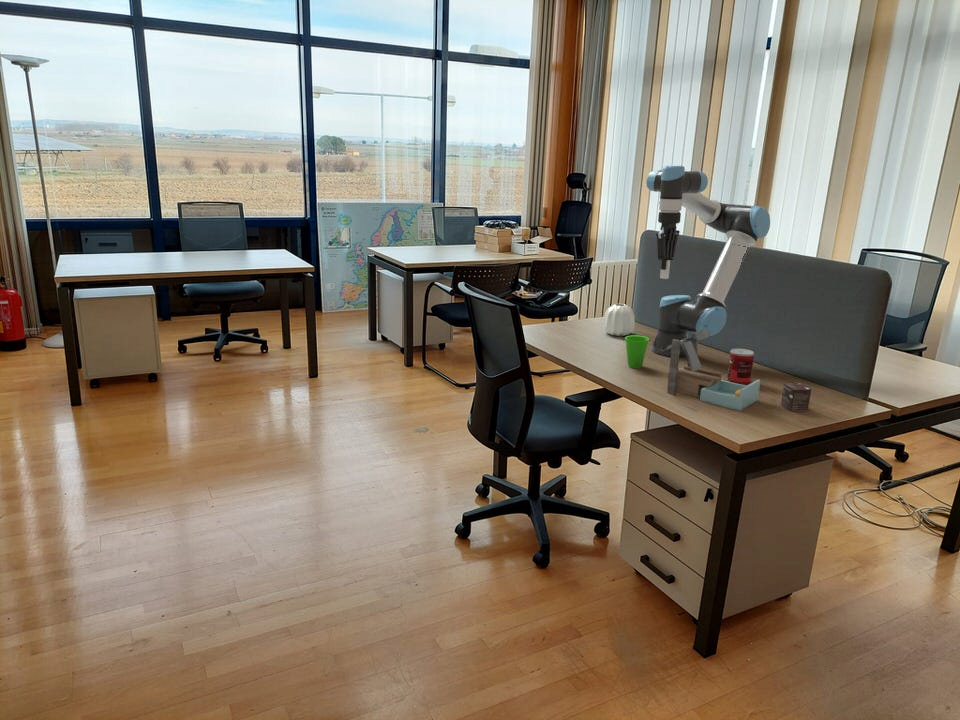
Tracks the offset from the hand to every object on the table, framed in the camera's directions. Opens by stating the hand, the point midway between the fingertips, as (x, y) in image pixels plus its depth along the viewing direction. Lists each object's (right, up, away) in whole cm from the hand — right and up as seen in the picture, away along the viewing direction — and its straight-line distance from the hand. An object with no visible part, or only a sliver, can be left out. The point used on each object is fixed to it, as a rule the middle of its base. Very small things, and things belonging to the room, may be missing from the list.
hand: (664, 278), depth 245 cm
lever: (+6, -33, -16) cm, 37 cm away
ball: (+17, -40, -24) cm, 49 cm away
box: (+34, -45, -28) cm, 63 cm away
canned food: (+26, -37, -3) cm, 45 cm away
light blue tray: (+15, -43, -22) cm, 50 cm away
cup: (-7, -32, +14) cm, 36 cm away
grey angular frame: (+6, -40, -14) cm, 43 cm away
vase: (-4, -18, +61) cm, 63 cm away
